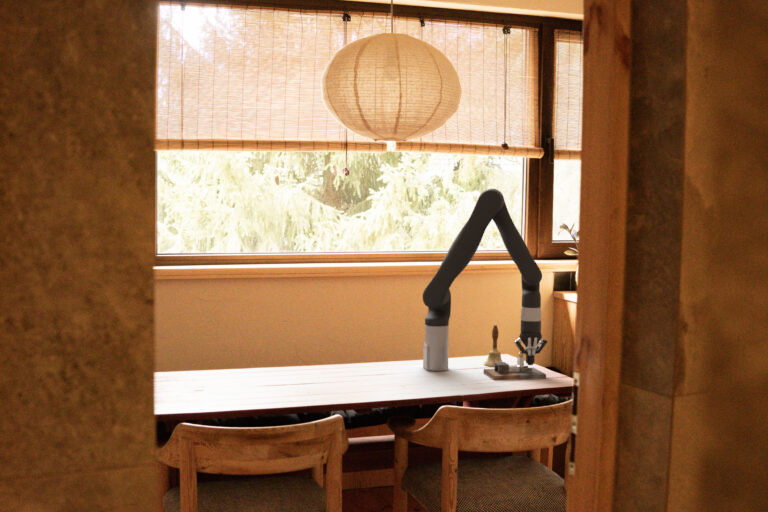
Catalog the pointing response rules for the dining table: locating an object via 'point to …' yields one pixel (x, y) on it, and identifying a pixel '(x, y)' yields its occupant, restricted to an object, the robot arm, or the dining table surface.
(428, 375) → the dining table surface
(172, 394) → the dining table surface
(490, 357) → the hand bell
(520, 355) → the bolt
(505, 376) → the lock plate
